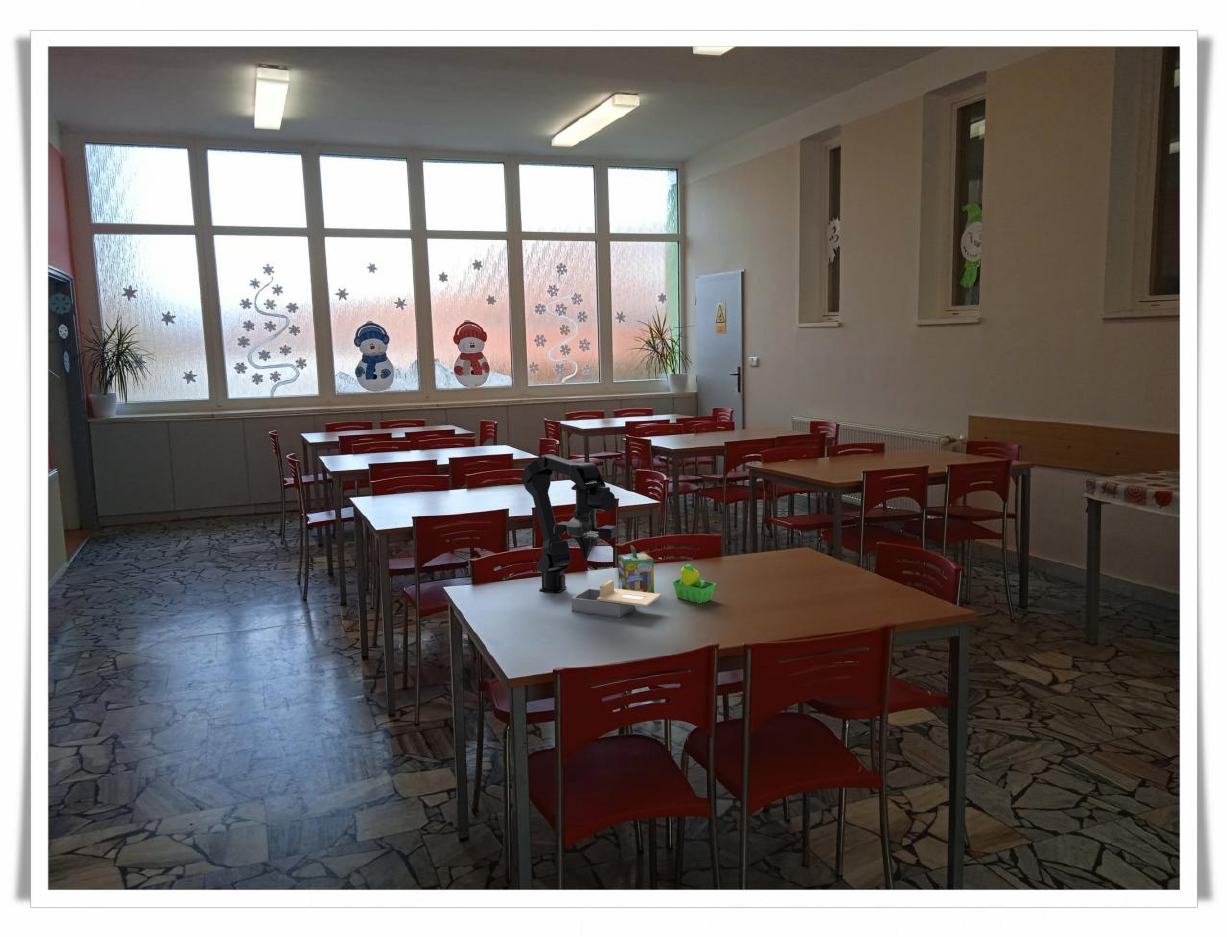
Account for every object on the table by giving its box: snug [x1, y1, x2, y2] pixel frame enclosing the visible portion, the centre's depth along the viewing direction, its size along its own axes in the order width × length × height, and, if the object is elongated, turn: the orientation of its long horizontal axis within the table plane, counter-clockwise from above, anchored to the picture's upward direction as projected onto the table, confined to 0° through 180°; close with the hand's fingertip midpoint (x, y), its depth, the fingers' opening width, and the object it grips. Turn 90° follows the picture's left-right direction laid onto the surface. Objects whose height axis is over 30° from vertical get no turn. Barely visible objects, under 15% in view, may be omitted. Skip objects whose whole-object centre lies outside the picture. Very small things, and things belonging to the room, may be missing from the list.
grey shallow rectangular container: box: [571, 587, 636, 619], centre depth 243 cm, size 15×11×4 cm
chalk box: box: [617, 544, 655, 593], centre depth 259 cm, size 9×9×15 cm
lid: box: [597, 579, 662, 607], centre depth 239 cm, size 15×11×4 cm
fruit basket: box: [672, 564, 717, 604], centre depth 253 cm, size 11×9×11 cm
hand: (586, 558), depth 250 cm, fingers closed
